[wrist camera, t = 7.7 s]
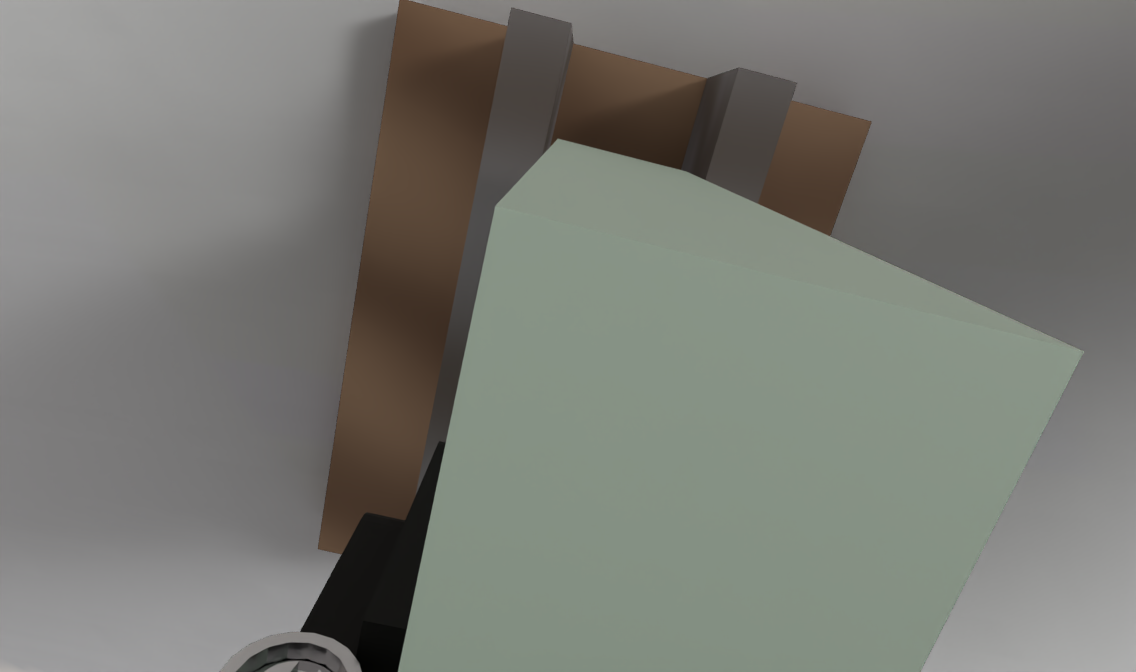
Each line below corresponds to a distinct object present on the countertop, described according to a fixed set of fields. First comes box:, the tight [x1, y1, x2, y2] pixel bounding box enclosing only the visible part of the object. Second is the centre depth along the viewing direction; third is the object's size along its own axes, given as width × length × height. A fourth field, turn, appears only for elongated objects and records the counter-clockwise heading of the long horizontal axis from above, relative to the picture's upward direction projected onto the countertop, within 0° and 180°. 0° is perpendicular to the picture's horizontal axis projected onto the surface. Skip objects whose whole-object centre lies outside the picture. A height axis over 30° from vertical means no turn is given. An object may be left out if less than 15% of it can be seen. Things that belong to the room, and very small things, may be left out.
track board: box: [318, 0, 871, 554], centre depth 18 cm, size 16×12×5 cm
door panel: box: [398, 139, 1084, 672], centre depth 9 cm, size 12×2×10 cm, turn 166°
